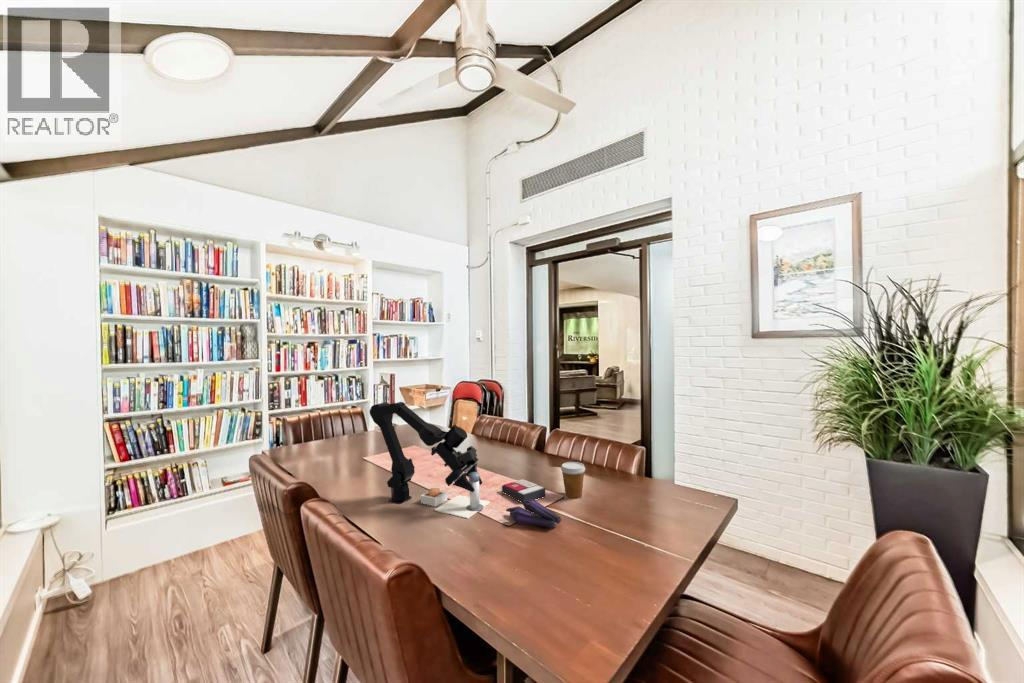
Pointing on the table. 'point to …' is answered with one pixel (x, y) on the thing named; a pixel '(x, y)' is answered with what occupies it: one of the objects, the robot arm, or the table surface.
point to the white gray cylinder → (475, 495)
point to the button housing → (434, 499)
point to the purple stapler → (530, 518)
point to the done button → (434, 492)
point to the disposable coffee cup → (573, 479)
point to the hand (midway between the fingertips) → (477, 487)
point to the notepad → (460, 507)
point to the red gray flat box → (523, 490)
